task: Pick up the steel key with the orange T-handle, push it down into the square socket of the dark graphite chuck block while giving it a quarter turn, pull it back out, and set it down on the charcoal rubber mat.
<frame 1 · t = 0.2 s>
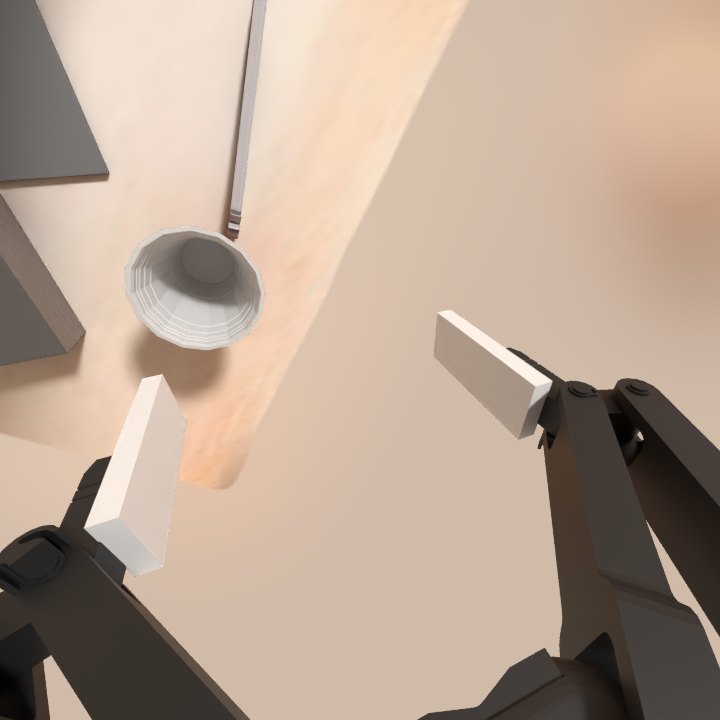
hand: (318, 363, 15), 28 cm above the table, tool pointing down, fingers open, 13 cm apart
caliper: (244, 127, 32), on the table
plastic cup: (207, 258, 36), on the table
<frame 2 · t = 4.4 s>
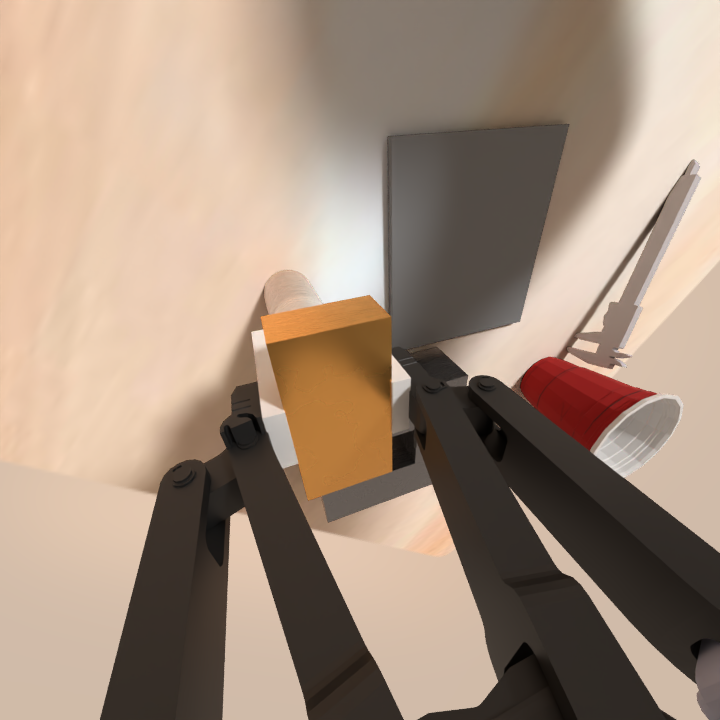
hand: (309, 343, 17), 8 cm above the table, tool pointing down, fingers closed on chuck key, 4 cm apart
chuck block: (372, 418, 33), on the table
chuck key: (288, 293, 23), on the table, touching gripper
key mat: (466, 249, 26), on the table
caliper: (618, 267, 34), on the table
plastic cup: (538, 374, 39), on the table
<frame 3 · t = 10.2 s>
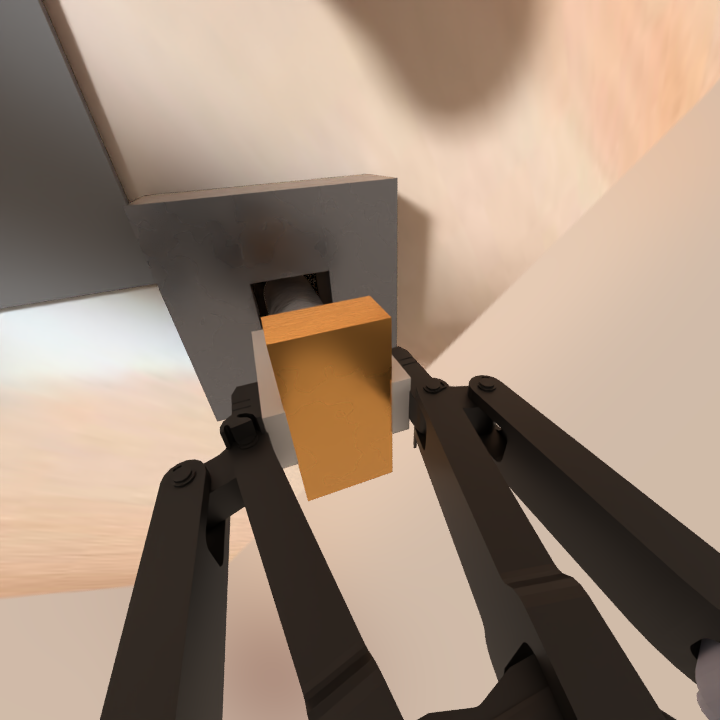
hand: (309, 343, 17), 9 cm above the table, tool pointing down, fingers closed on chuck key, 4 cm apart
chuck block: (286, 287, 24), on the table
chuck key: (288, 294, 23), point 1 cm above the table, touching gripper
when the fingers open (10 cm above the table, at t = 16.3 s): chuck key drops 1 cm, resting on key mat.
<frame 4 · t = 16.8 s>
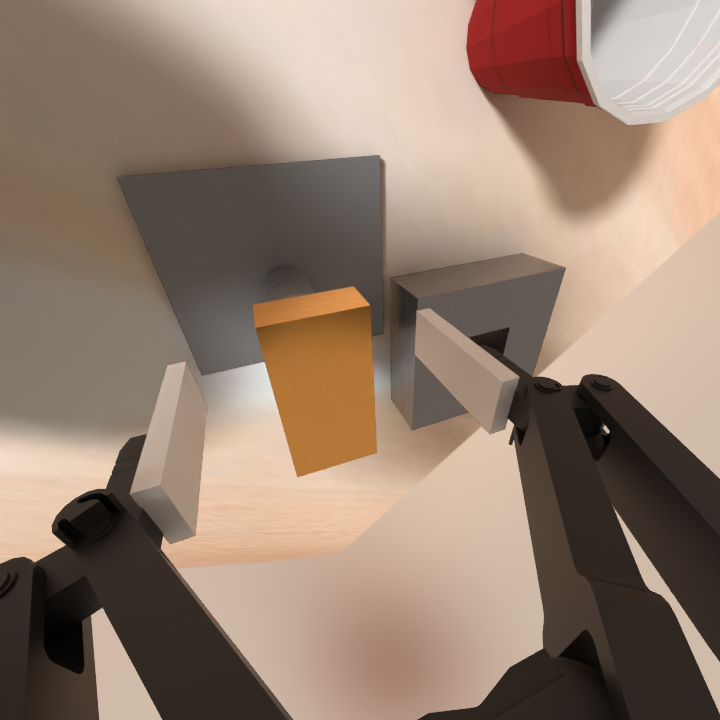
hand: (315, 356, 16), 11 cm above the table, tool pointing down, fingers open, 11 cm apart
chuck block: (452, 331, 33), on the table
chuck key: (286, 287, 24), point 1 cm above the table, touching key mat
key mat: (282, 272, 24), on the table
plastic cup: (498, 38, 21), on the table
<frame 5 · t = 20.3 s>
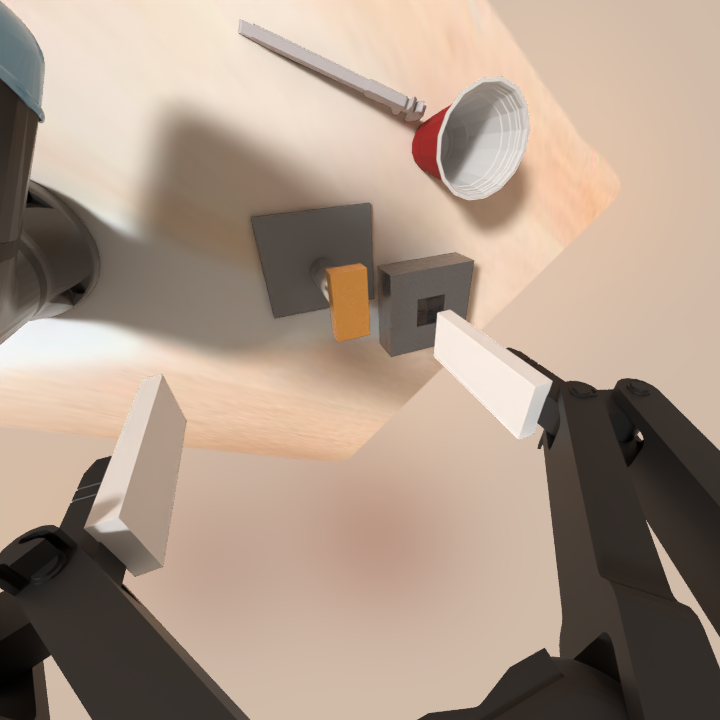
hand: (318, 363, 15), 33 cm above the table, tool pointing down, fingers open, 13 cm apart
chuck block: (416, 299, 55), on the table
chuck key: (321, 270, 46), point 1 cm above the table, touching key mat
key mat: (319, 262, 46), on the table
caliper: (333, 78, 36), on the table
plastic cup: (428, 146, 43), on the table
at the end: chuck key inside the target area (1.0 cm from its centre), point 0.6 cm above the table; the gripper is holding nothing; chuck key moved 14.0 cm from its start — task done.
